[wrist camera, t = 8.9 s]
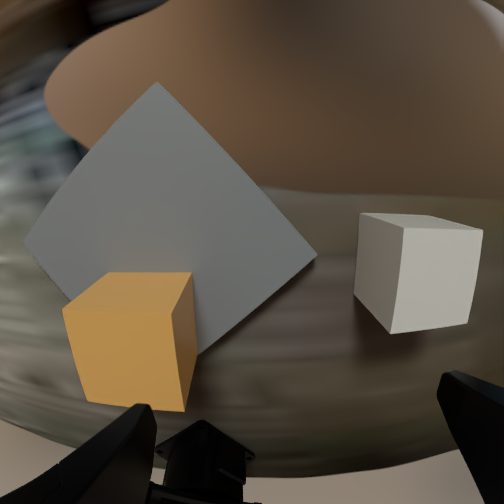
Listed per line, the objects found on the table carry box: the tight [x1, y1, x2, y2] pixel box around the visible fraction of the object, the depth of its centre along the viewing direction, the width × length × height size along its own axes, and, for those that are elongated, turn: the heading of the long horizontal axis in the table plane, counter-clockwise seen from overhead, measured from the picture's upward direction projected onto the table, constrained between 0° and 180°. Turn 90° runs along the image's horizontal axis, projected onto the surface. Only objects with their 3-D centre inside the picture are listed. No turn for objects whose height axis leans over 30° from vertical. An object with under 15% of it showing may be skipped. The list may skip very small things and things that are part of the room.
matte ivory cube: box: [353, 213, 483, 334], centre depth 17 cm, size 5×5×6 cm
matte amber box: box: [62, 272, 198, 412], centre depth 16 cm, size 5×5×6 cm
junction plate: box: [23, 82, 318, 356], centre depth 17 cm, size 14×14×5 cm
